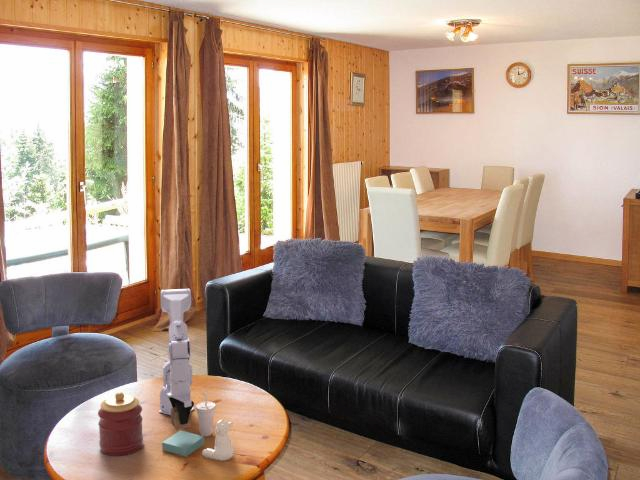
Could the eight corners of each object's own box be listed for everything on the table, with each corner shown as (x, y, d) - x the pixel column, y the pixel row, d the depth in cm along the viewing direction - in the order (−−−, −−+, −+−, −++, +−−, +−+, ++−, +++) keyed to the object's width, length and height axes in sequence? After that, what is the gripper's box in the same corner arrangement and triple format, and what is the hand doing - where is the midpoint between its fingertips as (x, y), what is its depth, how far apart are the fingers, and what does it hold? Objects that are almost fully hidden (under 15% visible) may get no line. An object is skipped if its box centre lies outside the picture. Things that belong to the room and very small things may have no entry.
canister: (93, 444, 208) (90, 390, 204) (133, 432, 215) (131, 380, 212) (108, 461, 198) (105, 405, 194) (150, 448, 205) (148, 394, 202)
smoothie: (199, 439, 211) (198, 398, 209) (193, 431, 217) (192, 390, 214) (218, 435, 214) (218, 394, 212) (212, 427, 220) (211, 387, 217)
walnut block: (171, 423, 207) (170, 408, 206) (186, 420, 209) (185, 405, 208) (175, 429, 203) (175, 414, 202) (191, 426, 205) (190, 411, 204)
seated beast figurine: (227, 445, 208) (226, 409, 206) (243, 456, 202) (243, 419, 199) (201, 455, 202) (200, 418, 199) (217, 466, 195) (216, 428, 193)
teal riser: (162, 449, 205) (162, 442, 204) (180, 437, 213) (180, 430, 212) (186, 456, 201) (186, 448, 200) (204, 443, 209) (203, 436, 208)
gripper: (160, 372, 207) (161, 413, 210) (174, 389, 195) (175, 432, 198) (182, 368, 211) (183, 409, 213) (197, 384, 199) (198, 427, 201)
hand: (181, 420), depth 206 cm, fingers closed on walnut block, 5 cm apart
